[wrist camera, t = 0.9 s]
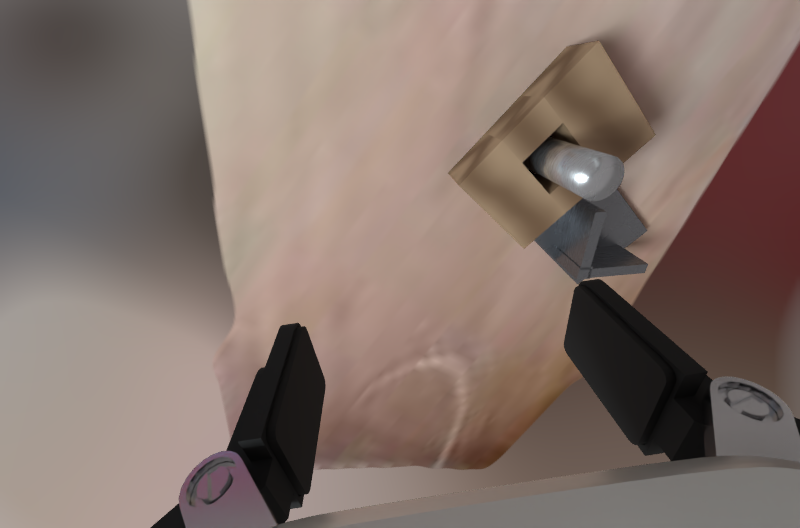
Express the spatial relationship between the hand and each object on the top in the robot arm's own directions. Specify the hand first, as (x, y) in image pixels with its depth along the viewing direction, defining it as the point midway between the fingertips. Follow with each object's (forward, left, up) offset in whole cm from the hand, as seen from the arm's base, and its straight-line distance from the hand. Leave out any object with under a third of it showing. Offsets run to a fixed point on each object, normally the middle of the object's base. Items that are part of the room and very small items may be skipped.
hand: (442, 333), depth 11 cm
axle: (-11, +11, -27) cm, 31 cm away
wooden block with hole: (-11, +11, -27) cm, 31 cm away
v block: (-10, +24, -27) cm, 38 cm away
